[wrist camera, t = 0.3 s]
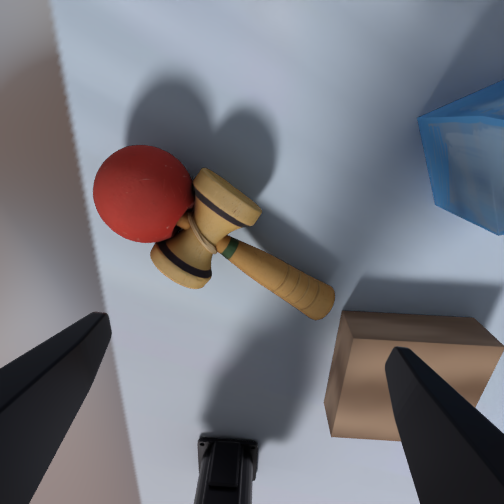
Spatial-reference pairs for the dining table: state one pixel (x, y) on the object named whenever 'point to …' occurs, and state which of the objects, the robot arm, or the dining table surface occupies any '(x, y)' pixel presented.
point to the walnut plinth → (377, 352)
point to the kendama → (194, 224)
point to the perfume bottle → (468, 156)
